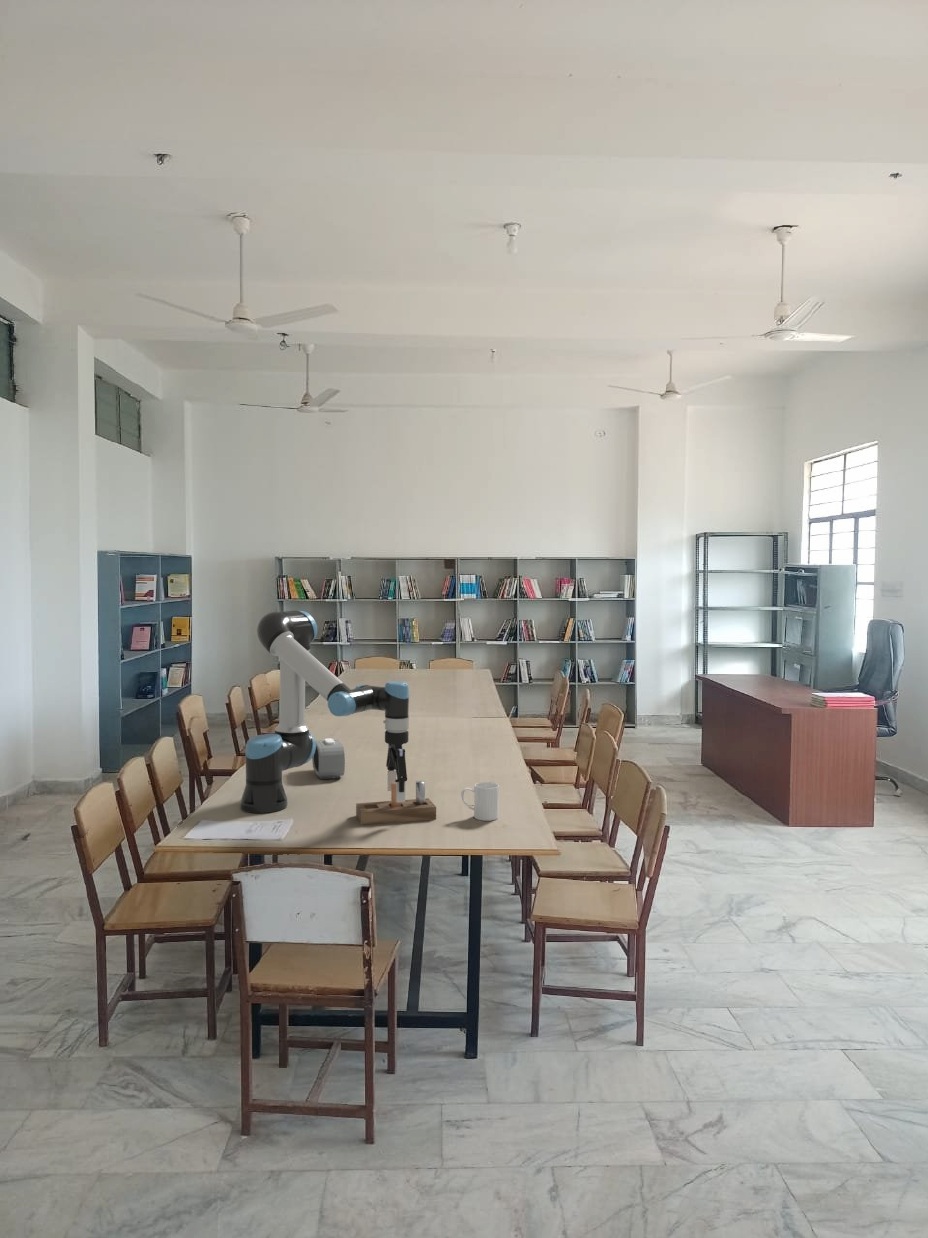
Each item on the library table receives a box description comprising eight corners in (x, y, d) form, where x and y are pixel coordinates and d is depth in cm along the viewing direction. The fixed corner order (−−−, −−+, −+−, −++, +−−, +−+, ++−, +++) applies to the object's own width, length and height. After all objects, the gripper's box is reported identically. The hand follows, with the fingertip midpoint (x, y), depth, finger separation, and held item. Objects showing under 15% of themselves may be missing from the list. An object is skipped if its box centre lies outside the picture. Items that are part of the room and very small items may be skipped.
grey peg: (414, 814, 267) (414, 781, 266) (423, 813, 268) (423, 780, 267) (416, 817, 264) (417, 783, 264) (425, 816, 265) (426, 782, 264)
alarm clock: (311, 769, 325) (311, 735, 324) (335, 767, 328) (335, 734, 327) (319, 782, 306) (319, 746, 305) (344, 780, 309) (344, 745, 308)
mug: (494, 813, 270) (495, 781, 269) (501, 820, 262) (501, 788, 261) (458, 815, 267) (459, 783, 266) (464, 822, 259) (464, 789, 259)
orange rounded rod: (390, 816, 265) (390, 782, 264) (399, 815, 266) (399, 782, 265) (392, 819, 262) (392, 785, 261) (401, 818, 263) (401, 784, 262)
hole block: (356, 815, 265) (356, 803, 265) (428, 810, 272) (428, 798, 272) (361, 825, 255) (361, 812, 255) (436, 819, 262) (436, 806, 262)
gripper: (377, 723, 273) (377, 786, 274) (393, 738, 249) (392, 807, 250) (399, 722, 275) (399, 785, 276) (417, 737, 251) (416, 806, 252)
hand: (396, 796), depth 263 cm, fingers open, 13 cm apart
